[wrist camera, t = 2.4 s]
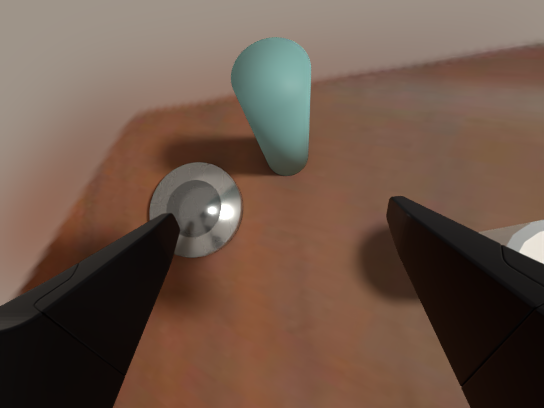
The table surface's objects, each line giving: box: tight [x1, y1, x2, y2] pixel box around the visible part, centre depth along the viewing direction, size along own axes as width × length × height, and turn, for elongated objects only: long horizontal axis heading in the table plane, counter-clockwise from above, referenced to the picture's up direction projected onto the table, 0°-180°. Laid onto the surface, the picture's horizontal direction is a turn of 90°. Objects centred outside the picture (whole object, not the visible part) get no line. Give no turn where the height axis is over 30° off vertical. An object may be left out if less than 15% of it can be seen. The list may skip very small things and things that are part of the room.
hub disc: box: [150, 162, 243, 257], centre depth 24 cm, size 10×10×1 cm
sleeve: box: [231, 37, 311, 176], centre depth 18 cm, size 4×4×12 cm
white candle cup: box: [478, 220, 544, 264], centre depth 16 cm, size 7×7×7 cm
